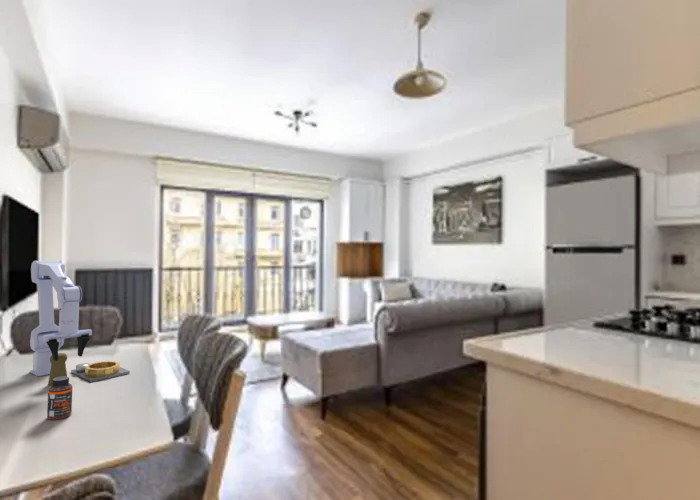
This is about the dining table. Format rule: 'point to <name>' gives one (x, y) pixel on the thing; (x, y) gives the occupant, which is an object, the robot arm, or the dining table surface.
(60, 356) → the cork
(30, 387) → the dining table surface
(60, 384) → the supplement bottle
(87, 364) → the flanged metal plate
